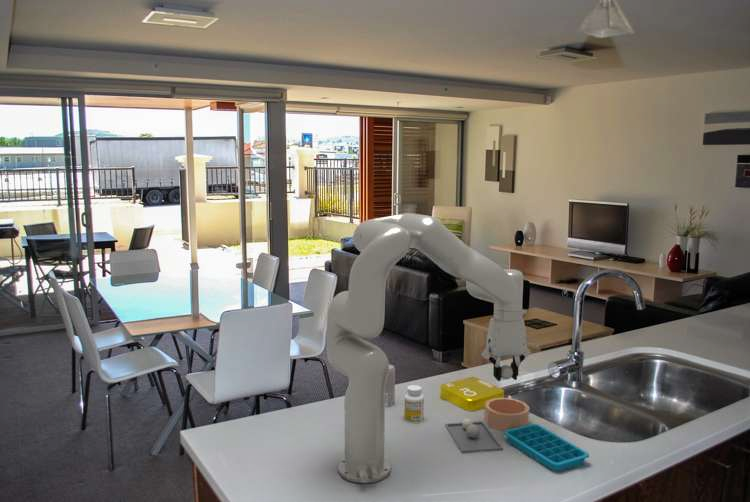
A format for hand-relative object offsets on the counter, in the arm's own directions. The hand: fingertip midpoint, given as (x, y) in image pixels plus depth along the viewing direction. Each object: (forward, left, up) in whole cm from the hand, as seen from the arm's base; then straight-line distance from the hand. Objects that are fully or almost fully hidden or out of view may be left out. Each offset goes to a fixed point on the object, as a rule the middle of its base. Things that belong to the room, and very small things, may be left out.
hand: (505, 378), depth 171 cm
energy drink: (+19, +30, -14) cm, 39 cm away
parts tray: (-7, +11, -14) cm, 19 cm away
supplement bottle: (+7, +24, -14) cm, 29 cm away
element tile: (+19, +3, -15) cm, 24 cm away
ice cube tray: (-17, -5, -15) cm, 22 cm away
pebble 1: (-2, +11, -14) cm, 18 cm away
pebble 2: (-7, +11, -14) cm, 19 cm away
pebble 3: (0, 0, 0) cm, 0 cm away
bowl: (+1, -1, -14) cm, 14 cm away
